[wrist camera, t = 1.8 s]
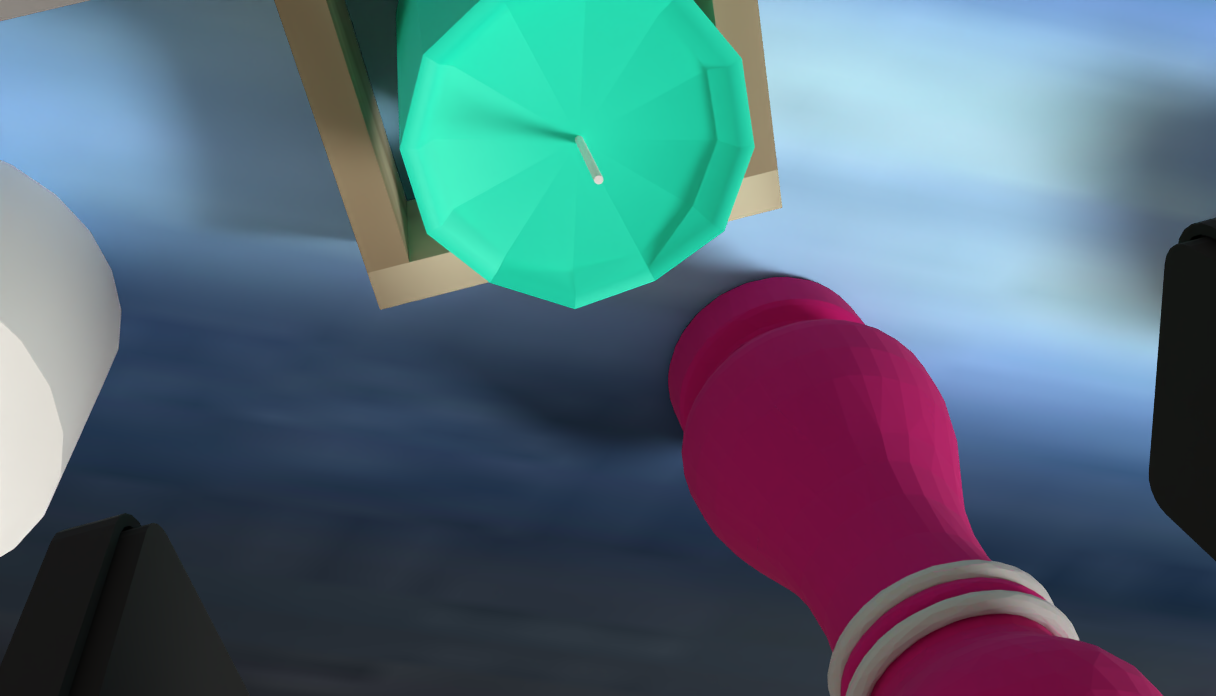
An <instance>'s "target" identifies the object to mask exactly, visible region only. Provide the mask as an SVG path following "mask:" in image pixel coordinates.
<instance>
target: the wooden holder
mask: <svg viewBox="0 0 1216 696" xmlns="http://www.w3.org/2000/svg"><path fill="white" fill-rule="evenodd" d="M84 1H89V0H0V21H3V20H7V19H12V18H16V17H20V16H24V15H29V14H33V13H37V12H42V11H46V10H50V9H54V8H59V7H63V6H67V5H72V4H76V3H80V2H84Z"/></svg>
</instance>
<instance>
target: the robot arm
mask: <svg viewBox="0 0 1216 696" xmlns="http://www.w3.org/2000/svg"><path fill="white" fill-rule="evenodd" d="M1149 482H1150V486H1151V490H1152V493H1153V495H1154V498H1155V500H1156V501H1157V503H1158V505H1159V506H1160V508H1161V509H1162V510H1163V511H1164V512H1165V514H1166V515H1167V516H1169V517H1170V518H1171V519H1172V520H1173V521H1174V522H1175V523H1176V524H1177V525H1178V526H1179V527H1180V528H1181V529H1182V530H1183V531H1184V532H1185V533H1187V534H1188V535H1189V536H1190V537H1191V538H1192V539H1193V540H1194V541H1195V542H1196V543H1197V544H1198V545H1199V546H1200V547H1201V548H1202V549H1203V550H1205V551H1206V552H1207V553H1208V554H1209V555H1210V556H1211V557H1212V558H1213V559H1214V560H1215V561H1216V218H1213V219H1209V220H1205V221H1202V222H1198V223H1194V224H1191V225H1190V226H1189V227H1187V228H1186V229H1185V230H1184V231H1183V233H1182V235H1181V236H1180V238H1179V242H1178V244H1176V245H1175V246H1173V247H1172V248H1170V250H1169V252H1168V254H1167V256H1166V261H1165V269H1164V282H1163V295H1162V308H1161V321H1160V334H1159V347H1158V360H1157V373H1156V386H1155V399H1154V412H1153V425H1152V438H1151V451H1150V464H1149ZM0 696H250V695H249V693H248V691H247V689H246V687H245V685H244V683H243V681H242V679H241V677H240V675H239V673H238V671H237V670H236V668H235V666H234V664H233V662H232V660H231V658H230V656H229V654H228V652H227V650H226V648H225V646H224V644H223V643H222V641H221V639H220V637H219V635H218V633H217V631H216V629H215V627H214V625H213V623H212V621H211V619H210V617H209V616H208V614H207V612H206V610H205V608H204V606H203V604H202V602H201V600H200V598H199V596H198V594H197V592H196V590H195V588H194V587H193V585H192V583H191V581H190V579H189V577H188V575H187V573H186V571H185V569H184V567H183V565H182V563H181V561H180V560H179V558H178V556H177V554H176V552H175V550H174V548H173V546H172V544H171V542H170V540H169V538H168V536H167V535H166V533H165V532H164V530H163V529H162V528H161V527H160V526H159V525H158V524H155V523H151V524H148V525H144V526H141V525H140V523H139V522H138V521H137V520H136V519H135V518H134V517H133V516H132V515H129V514H126V513H124V514H121V515H117V516H113V517H110V518H106V519H102V520H99V521H95V522H91V523H88V524H84V525H80V526H76V527H73V528H69V529H65V530H62V531H60V532H58V533H56V535H55V536H54V538H53V539H52V541H51V543H50V545H49V548H48V550H47V553H46V555H45V558H44V560H43V563H42V565H41V568H40V570H39V573H38V575H37V577H36V580H35V582H34V585H33V587H32V590H31V592H30V595H29V597H28V600H27V602H26V604H25V607H24V609H23V612H22V614H21V617H20V619H19V622H18V624H17V627H16V629H15V632H14V634H13V636H12V639H11V641H10V644H9V646H8V649H7V651H6V654H5V656H4V659H3V661H2V663H1V666H0Z"/></svg>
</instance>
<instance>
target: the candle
mask: <svg viewBox="0 0 1216 696" xmlns="http://www.w3.org/2000/svg"><path fill="white" fill-rule="evenodd" d="M396 38H397V73H398V108H399V143H400V152H401V155H402V158H403V161H404V164H405V167H406V171H407V174H408V177H409V180H410V183H411V186H412V189H413V192H414V196H415V199H416V202H417V205H418V208H419V211H420V214H421V217H422V220H423V224H424V227H425V230H426V233H427V234H428V235H429V236H430V237H432V238H433V239H434V240H435V241H437V242H438V243H439V244H441V245H442V246H443V247H444V248H446V249H447V250H448V251H450V252H451V253H452V254H453V255H455V256H456V257H457V258H459V259H460V260H461V261H463V262H464V263H465V264H466V265H468V266H469V267H470V268H472V269H473V270H474V271H475V272H477V273H478V274H479V275H481V276H482V277H483V278H484V279H486V280H487V281H488V282H490V283H492V284H495V285H499V286H502V287H505V288H508V289H511V290H515V291H518V292H521V293H524V294H528V295H531V296H534V297H537V298H541V299H544V300H547V301H550V302H553V303H557V304H560V305H563V306H566V307H570V308H573V309H577V308H580V307H583V306H585V305H588V304H591V303H594V302H597V301H600V300H602V299H605V298H608V297H611V296H614V295H617V294H620V293H622V292H625V291H628V290H631V289H634V288H637V287H639V286H642V285H645V284H648V283H651V282H654V281H656V280H657V279H659V278H660V277H661V276H663V275H664V274H665V273H667V272H668V271H670V270H671V269H672V268H674V267H675V266H677V265H678V264H679V263H681V262H682V261H683V260H685V259H686V258H688V257H689V256H690V255H692V254H693V253H695V252H696V251H697V250H699V249H700V248H701V247H703V246H704V245H706V244H707V243H708V242H710V241H711V240H712V239H714V238H715V237H717V236H718V235H719V234H721V233H722V232H724V231H725V228H726V225H727V222H728V219H729V217H730V214H731V211H732V208H733V206H734V203H735V200H736V197H737V195H738V192H739V189H740V186H741V184H742V181H743V178H744V175H745V173H746V170H747V167H748V164H749V162H750V159H751V156H752V153H753V151H754V148H755V145H754V138H753V131H752V125H751V118H750V111H749V104H748V97H747V90H746V83H745V76H744V69H743V63H742V58H741V57H740V56H739V54H738V53H737V52H736V51H735V50H734V48H733V47H732V46H731V45H730V44H729V42H728V41H727V40H726V39H725V38H724V36H723V35H722V34H721V33H720V32H719V30H718V29H717V28H716V27H715V26H714V24H713V23H712V22H711V21H710V20H709V18H708V17H707V16H706V15H705V14H704V12H703V11H702V10H701V9H700V8H699V6H698V5H697V4H696V3H695V2H694V0H399V1H398V5H397V10H396Z"/></svg>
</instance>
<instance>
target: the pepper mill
mask: <svg viewBox="0 0 1216 696" xmlns="http://www.w3.org/2000/svg"><path fill="white" fill-rule="evenodd" d="M668 387H669V394H670V400H671V403H672V406H673V409H674V411H675V414H676V416H677V418H678V420H679V423H680V425H681V427H682V430H683V432H684V436H683V445H682V458H683V466H684V475H685V478H686V481H687V484H688V487H689V490H690V493H691V495H692V497H693V499H694V501H695V502H696V504H697V506H698V508H699V509H700V511H701V513H702V515H703V516H704V518H705V520H706V521H707V523H708V524H709V526H710V527H711V529H712V530H713V532H714V534H715V535H716V536H717V537H718V538H719V539H720V540H721V541H722V542H723V543H725V544H726V545H727V546H728V547H729V548H730V549H731V550H732V551H733V552H734V553H735V554H736V555H737V556H738V557H740V558H741V559H742V560H744V561H745V562H746V563H748V564H749V565H751V566H752V567H753V568H755V569H756V570H757V571H759V572H761V573H762V574H764V575H766V576H767V577H769V578H771V579H772V580H774V581H776V582H777V583H779V584H781V585H782V586H784V587H786V588H788V589H789V590H791V591H792V592H794V593H795V594H796V595H798V596H799V597H800V598H801V599H802V600H803V601H804V602H805V604H806V605H807V606H808V607H809V608H810V610H811V612H812V613H813V615H814V616H815V618H816V620H817V621H818V623H819V625H820V626H821V628H822V630H823V631H824V633H825V635H826V636H827V638H828V641H829V644H830V646H831V649H832V652H833V653H832V657H831V661H830V665H829V670H828V689H829V693H830V696H1163V695H1162V694H1161V693H1160V692H1159V691H1158V689H1157V688H1156V687H1155V686H1154V685H1153V684H1152V683H1151V682H1149V681H1148V680H1147V679H1146V678H1145V677H1144V676H1143V675H1142V674H1141V673H1140V672H1139V671H1138V670H1137V669H1136V668H1135V667H1134V666H1133V665H1131V664H1129V663H1127V662H1125V661H1123V660H1121V659H1120V658H1118V657H1116V656H1114V655H1112V654H1110V653H1108V652H1107V651H1105V650H1103V649H1101V648H1099V647H1097V646H1095V645H1092V644H1089V643H1085V642H1081V641H1079V638H1078V636H1077V634H1076V631H1075V629H1074V627H1073V625H1072V623H1071V622H1070V621H1069V619H1068V618H1067V617H1066V616H1065V615H1064V614H1063V613H1062V612H1061V611H1060V610H1059V609H1058V608H1057V607H1055V606H1054V604H1053V602H1052V600H1051V598H1050V596H1049V595H1048V593H1047V591H1046V590H1045V589H1044V587H1043V586H1042V585H1041V584H1040V583H1039V582H1037V581H1036V580H1035V579H1034V578H1033V577H1032V576H1031V575H1030V574H1028V573H1026V572H1024V571H1022V570H1020V569H1018V568H1016V567H1014V566H1011V565H1007V564H1004V563H1000V562H994V561H991V560H990V559H989V558H988V556H987V555H986V553H985V552H984V550H983V549H982V547H981V546H980V544H979V543H978V541H977V539H976V538H975V536H974V534H973V532H972V529H971V526H970V523H969V521H968V518H967V515H966V513H965V508H964V501H963V493H962V484H961V475H960V465H959V456H958V446H957V440H956V436H955V433H954V430H953V427H952V424H951V420H950V417H949V414H948V411H947V408H946V404H945V401H944V399H943V398H942V396H941V394H940V392H939V390H938V389H937V387H936V385H935V384H934V382H933V381H932V379H931V377H930V376H929V374H928V373H927V371H926V370H925V368H924V367H923V365H922V364H921V363H920V362H919V360H918V359H917V358H916V357H915V355H914V354H913V353H912V352H911V351H910V350H908V349H907V348H906V347H905V346H903V345H902V344H901V343H900V342H898V341H897V340H896V339H894V338H892V337H891V336H889V335H887V334H885V333H884V332H882V331H880V330H878V329H876V328H873V327H870V326H867V325H865V324H864V323H863V322H862V320H861V319H860V318H859V317H858V315H857V314H856V313H855V312H854V310H853V309H852V308H851V307H850V306H849V305H848V304H847V303H846V302H845V301H844V300H843V299H842V298H841V297H840V296H839V295H837V294H836V293H835V292H833V291H832V290H830V289H829V288H827V287H825V286H823V285H821V284H818V283H816V282H813V281H810V280H804V279H798V278H791V277H772V278H767V279H762V280H758V281H753V282H749V283H745V284H743V285H741V286H739V287H736V288H734V289H732V290H730V291H728V292H726V293H724V294H722V295H720V296H718V297H717V298H716V299H715V300H713V301H712V302H711V303H710V304H708V305H707V306H706V307H705V308H704V309H702V310H701V311H700V312H699V313H698V314H697V315H696V316H695V317H694V319H693V320H692V321H691V323H690V324H689V325H688V326H687V328H686V329H685V330H684V332H683V333H682V335H681V337H680V339H679V341H678V343H677V344H676V346H675V350H674V353H673V356H672V359H671V362H670V367H669V374H668Z"/></svg>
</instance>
